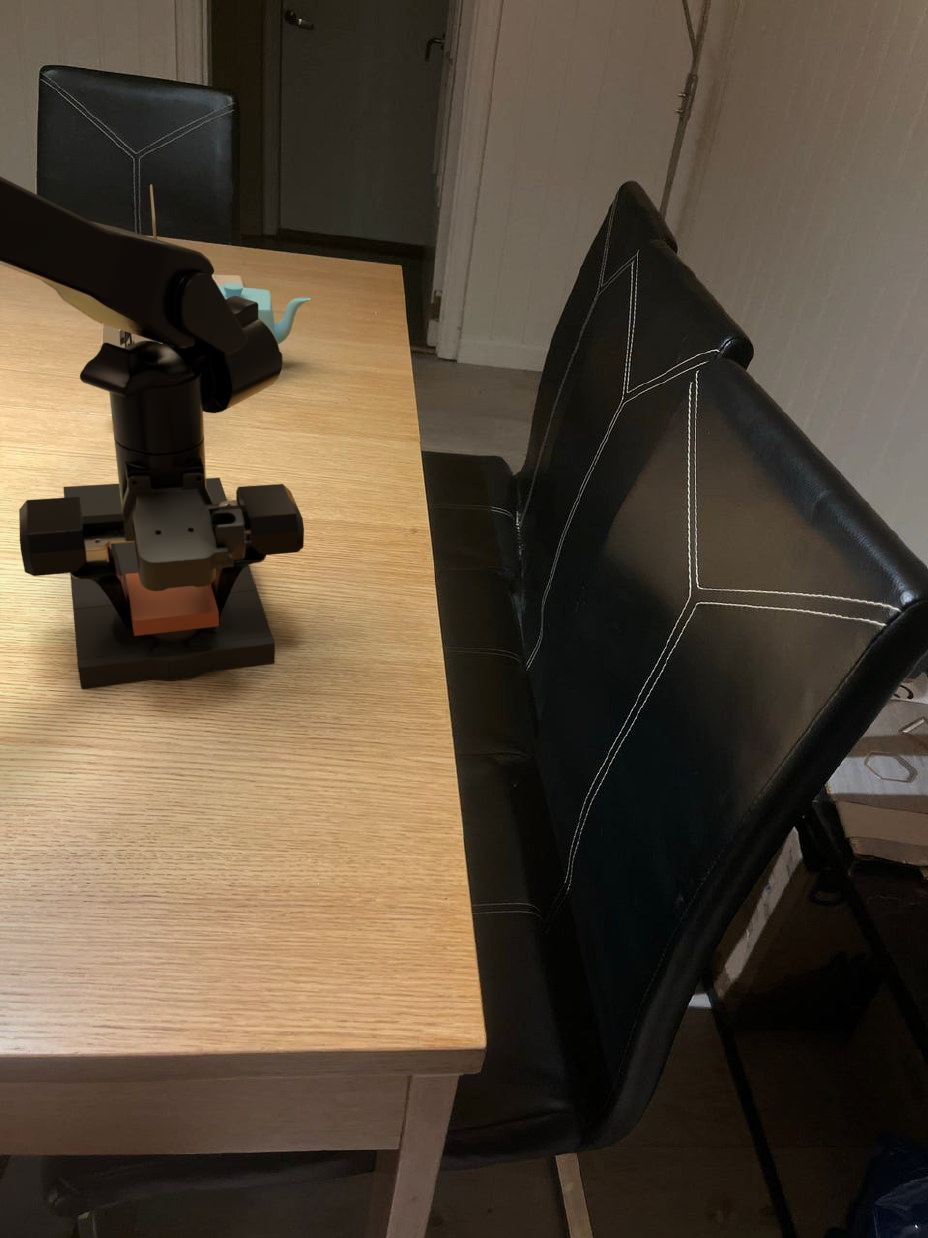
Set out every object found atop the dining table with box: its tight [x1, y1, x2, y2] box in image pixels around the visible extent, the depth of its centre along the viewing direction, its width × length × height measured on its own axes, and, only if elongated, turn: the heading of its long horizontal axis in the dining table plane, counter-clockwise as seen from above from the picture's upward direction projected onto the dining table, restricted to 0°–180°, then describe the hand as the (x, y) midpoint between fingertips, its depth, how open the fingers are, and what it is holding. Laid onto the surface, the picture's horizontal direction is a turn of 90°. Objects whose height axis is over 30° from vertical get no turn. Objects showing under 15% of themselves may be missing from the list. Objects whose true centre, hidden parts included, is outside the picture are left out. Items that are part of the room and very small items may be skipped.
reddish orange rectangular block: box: [125, 573, 219, 642], centre depth 69 cm, size 6×6×4 cm
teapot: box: [218, 283, 311, 345], centre depth 112 cm, size 18×14×10 cm
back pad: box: [62, 477, 276, 689], centre depth 77 cm, size 26×14×2 cm, turn 21°
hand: (173, 620), depth 70 cm, fingers closed on reddish orange rectangular block, 6 cm apart
